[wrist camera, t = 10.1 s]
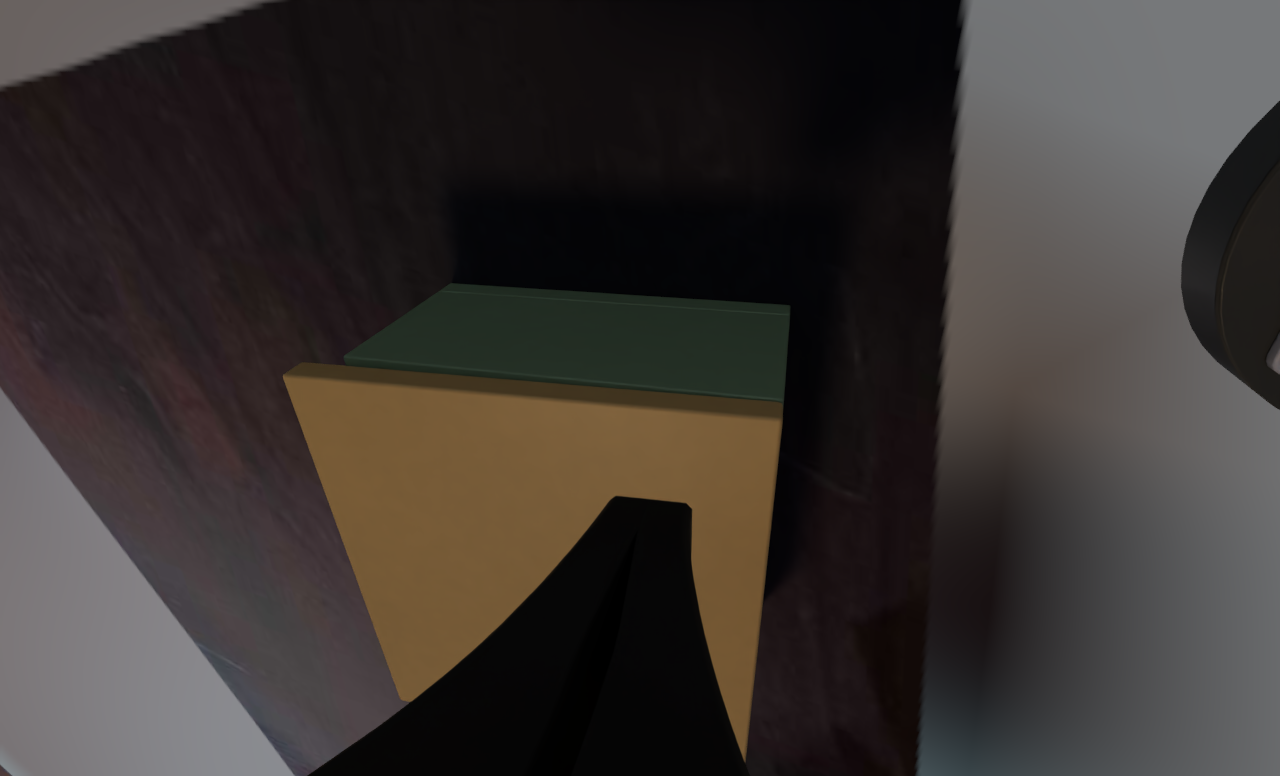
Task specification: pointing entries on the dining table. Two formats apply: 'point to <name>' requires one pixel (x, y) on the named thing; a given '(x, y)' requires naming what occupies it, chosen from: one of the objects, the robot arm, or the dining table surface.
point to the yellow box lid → (531, 500)
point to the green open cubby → (590, 341)
